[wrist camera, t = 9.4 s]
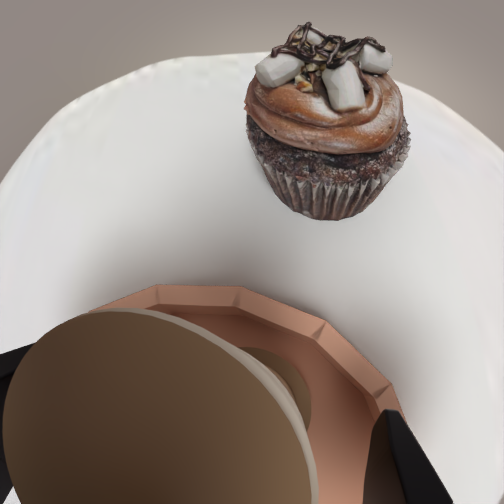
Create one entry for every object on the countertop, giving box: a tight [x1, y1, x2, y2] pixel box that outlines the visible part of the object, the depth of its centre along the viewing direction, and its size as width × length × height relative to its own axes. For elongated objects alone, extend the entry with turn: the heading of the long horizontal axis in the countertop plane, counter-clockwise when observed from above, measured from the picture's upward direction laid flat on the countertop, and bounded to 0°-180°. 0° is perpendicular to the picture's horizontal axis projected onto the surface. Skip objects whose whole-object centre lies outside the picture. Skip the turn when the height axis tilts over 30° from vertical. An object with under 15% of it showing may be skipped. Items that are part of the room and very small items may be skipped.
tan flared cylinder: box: [2, 308, 319, 504], centre depth 9 cm, size 6×6×13 cm
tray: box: [88, 285, 407, 504], centre depth 13 cm, size 22×22×3 cm
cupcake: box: [244, 22, 411, 221], centre depth 16 cm, size 10×10×10 cm
